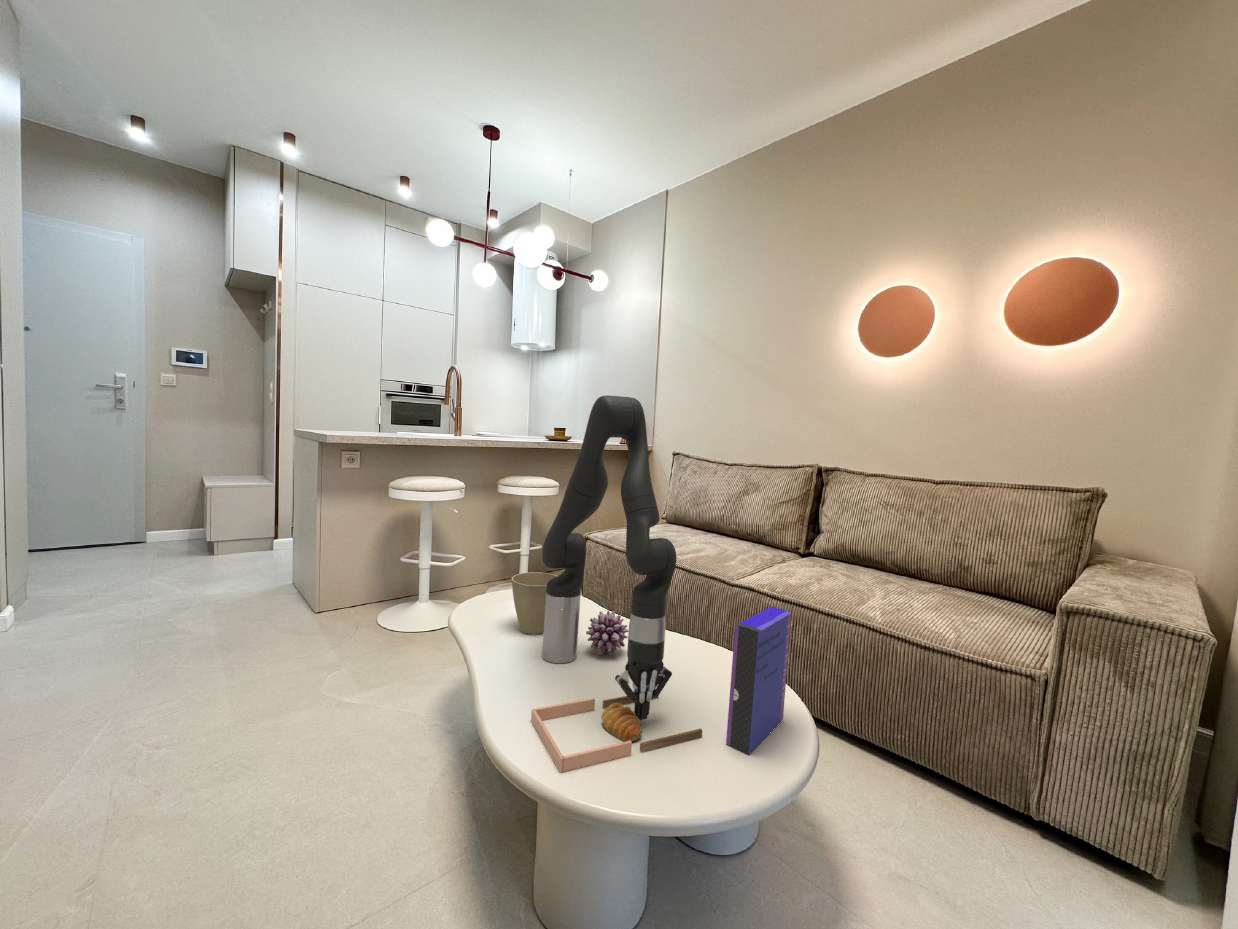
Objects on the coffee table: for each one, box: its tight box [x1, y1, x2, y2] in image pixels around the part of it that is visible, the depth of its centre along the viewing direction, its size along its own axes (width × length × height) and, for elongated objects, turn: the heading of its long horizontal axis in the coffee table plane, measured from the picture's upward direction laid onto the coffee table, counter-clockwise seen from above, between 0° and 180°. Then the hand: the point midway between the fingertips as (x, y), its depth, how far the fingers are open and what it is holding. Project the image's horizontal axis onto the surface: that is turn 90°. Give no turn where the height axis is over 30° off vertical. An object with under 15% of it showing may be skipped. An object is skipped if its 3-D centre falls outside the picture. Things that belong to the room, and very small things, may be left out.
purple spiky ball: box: [585, 610, 629, 655], centre depth 136 cm, size 12×12×12 cm
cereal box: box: [725, 606, 792, 756], centre depth 101 cm, size 17×5×24 cm, turn 141°
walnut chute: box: [602, 695, 703, 753], centre depth 103 cm, size 17×14×2 cm
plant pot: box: [511, 571, 558, 635], centre depth 149 cm, size 15×15×16 cm
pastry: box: [600, 703, 643, 742], centre depth 99 cm, size 9×7×4 cm
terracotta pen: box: [530, 697, 633, 774], centre depth 95 cm, size 17×14×2 cm
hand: (641, 717), depth 102 cm, fingers closed
